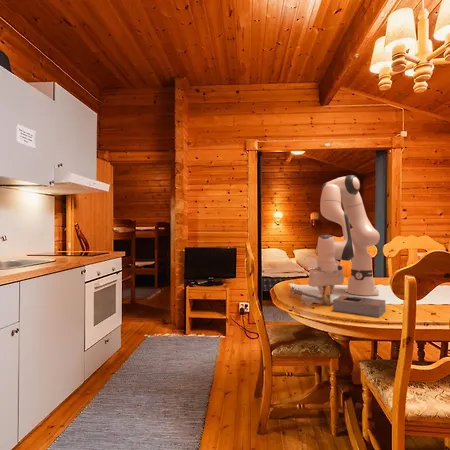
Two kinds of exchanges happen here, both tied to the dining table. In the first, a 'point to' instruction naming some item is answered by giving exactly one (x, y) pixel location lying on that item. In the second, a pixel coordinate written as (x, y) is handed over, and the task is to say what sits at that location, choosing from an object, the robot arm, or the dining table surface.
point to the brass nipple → (326, 295)
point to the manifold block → (359, 305)
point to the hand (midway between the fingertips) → (326, 294)
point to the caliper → (302, 294)
